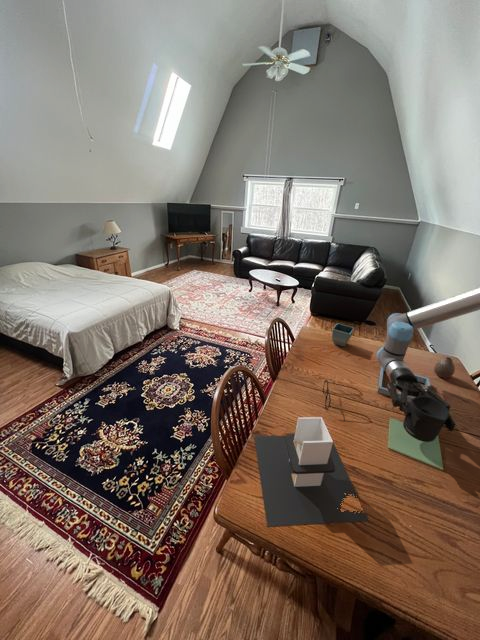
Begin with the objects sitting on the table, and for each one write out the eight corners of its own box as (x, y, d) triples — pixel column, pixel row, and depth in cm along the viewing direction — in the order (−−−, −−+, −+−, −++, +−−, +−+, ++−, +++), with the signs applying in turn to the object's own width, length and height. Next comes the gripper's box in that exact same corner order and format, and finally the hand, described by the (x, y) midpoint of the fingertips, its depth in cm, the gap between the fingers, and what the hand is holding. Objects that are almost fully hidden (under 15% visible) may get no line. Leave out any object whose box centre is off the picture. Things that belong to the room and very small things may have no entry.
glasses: (322, 387, 106) (325, 377, 104) (360, 396, 105) (364, 386, 103) (325, 413, 94) (330, 402, 92) (368, 424, 92) (374, 413, 90)
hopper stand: (254, 436, 83) (257, 395, 76) (329, 434, 85) (339, 394, 78) (267, 526, 61) (274, 480, 54) (369, 520, 63) (388, 475, 56)
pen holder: (397, 416, 87) (407, 392, 83) (430, 423, 85) (441, 399, 81) (405, 439, 79) (416, 413, 75) (441, 447, 77) (455, 422, 73)
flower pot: (328, 344, 138) (332, 328, 134) (334, 337, 145) (337, 322, 141) (346, 349, 134) (350, 334, 130) (350, 342, 140) (354, 327, 136)
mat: (437, 436, 87) (438, 434, 86) (442, 470, 76) (443, 469, 75) (389, 418, 93) (390, 417, 92) (387, 448, 81) (388, 447, 81)
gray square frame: (427, 383, 112) (429, 378, 111) (430, 410, 98) (433, 404, 96) (380, 369, 120) (381, 364, 118) (376, 392, 105) (378, 387, 104)
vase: (449, 382, 113) (458, 365, 109) (430, 375, 117) (438, 358, 113) (452, 375, 118) (460, 358, 114) (433, 368, 122) (440, 352, 118)
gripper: (429, 388, 96) (470, 440, 75) (367, 381, 98) (390, 430, 77) (436, 371, 92) (481, 420, 72) (372, 364, 94) (398, 410, 74)
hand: (434, 425), depth 75 cm, fingers closed on pen holder, 9 cm apart
